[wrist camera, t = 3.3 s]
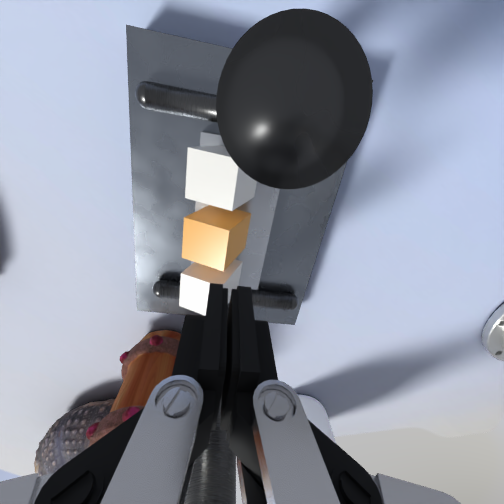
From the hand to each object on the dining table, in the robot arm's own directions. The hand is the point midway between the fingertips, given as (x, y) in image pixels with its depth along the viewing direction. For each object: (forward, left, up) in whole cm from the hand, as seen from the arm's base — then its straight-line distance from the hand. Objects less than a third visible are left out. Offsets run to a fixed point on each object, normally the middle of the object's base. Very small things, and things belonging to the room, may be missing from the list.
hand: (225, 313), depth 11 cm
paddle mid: (0, 0, -11) cm, 11 cm away
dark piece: (0, 0, -15) cm, 15 cm away
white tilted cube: (0, -4, -11) cm, 11 cm away
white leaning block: (0, +4, -11) cm, 11 cm away
